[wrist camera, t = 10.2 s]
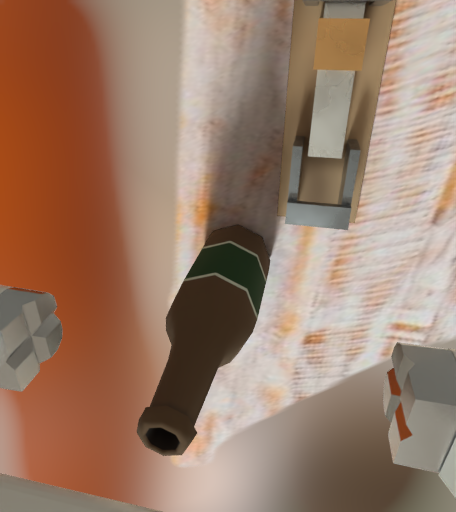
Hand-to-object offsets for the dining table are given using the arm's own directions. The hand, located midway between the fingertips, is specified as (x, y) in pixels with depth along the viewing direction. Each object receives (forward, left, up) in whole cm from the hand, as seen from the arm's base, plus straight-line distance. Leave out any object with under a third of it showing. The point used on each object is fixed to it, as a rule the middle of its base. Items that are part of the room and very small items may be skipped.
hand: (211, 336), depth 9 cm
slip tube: (-3, -5, -30) cm, 30 cm away
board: (-3, -2, -31) cm, 31 cm away
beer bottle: (+5, +15, -31) cm, 35 cm away
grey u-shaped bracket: (-3, +5, -31) cm, 32 cm away
